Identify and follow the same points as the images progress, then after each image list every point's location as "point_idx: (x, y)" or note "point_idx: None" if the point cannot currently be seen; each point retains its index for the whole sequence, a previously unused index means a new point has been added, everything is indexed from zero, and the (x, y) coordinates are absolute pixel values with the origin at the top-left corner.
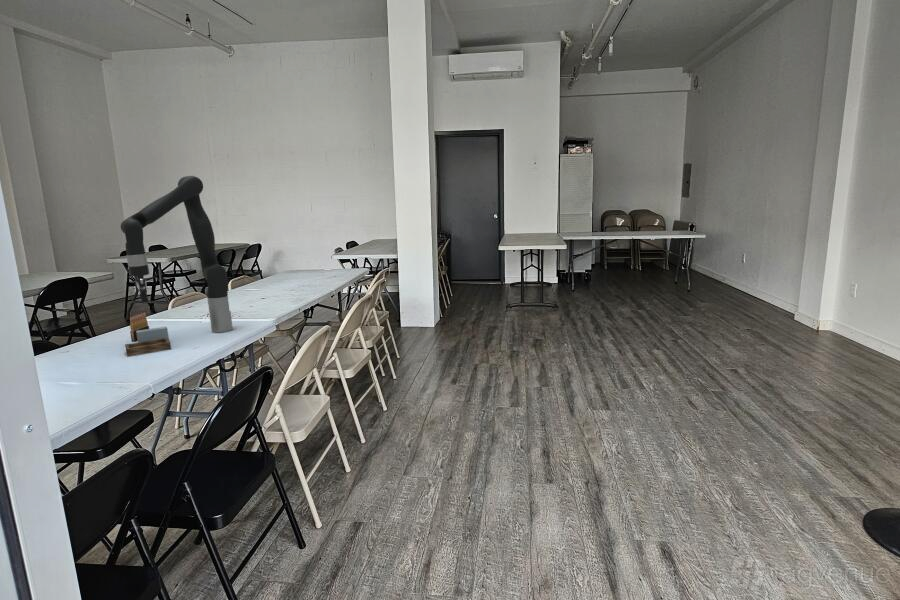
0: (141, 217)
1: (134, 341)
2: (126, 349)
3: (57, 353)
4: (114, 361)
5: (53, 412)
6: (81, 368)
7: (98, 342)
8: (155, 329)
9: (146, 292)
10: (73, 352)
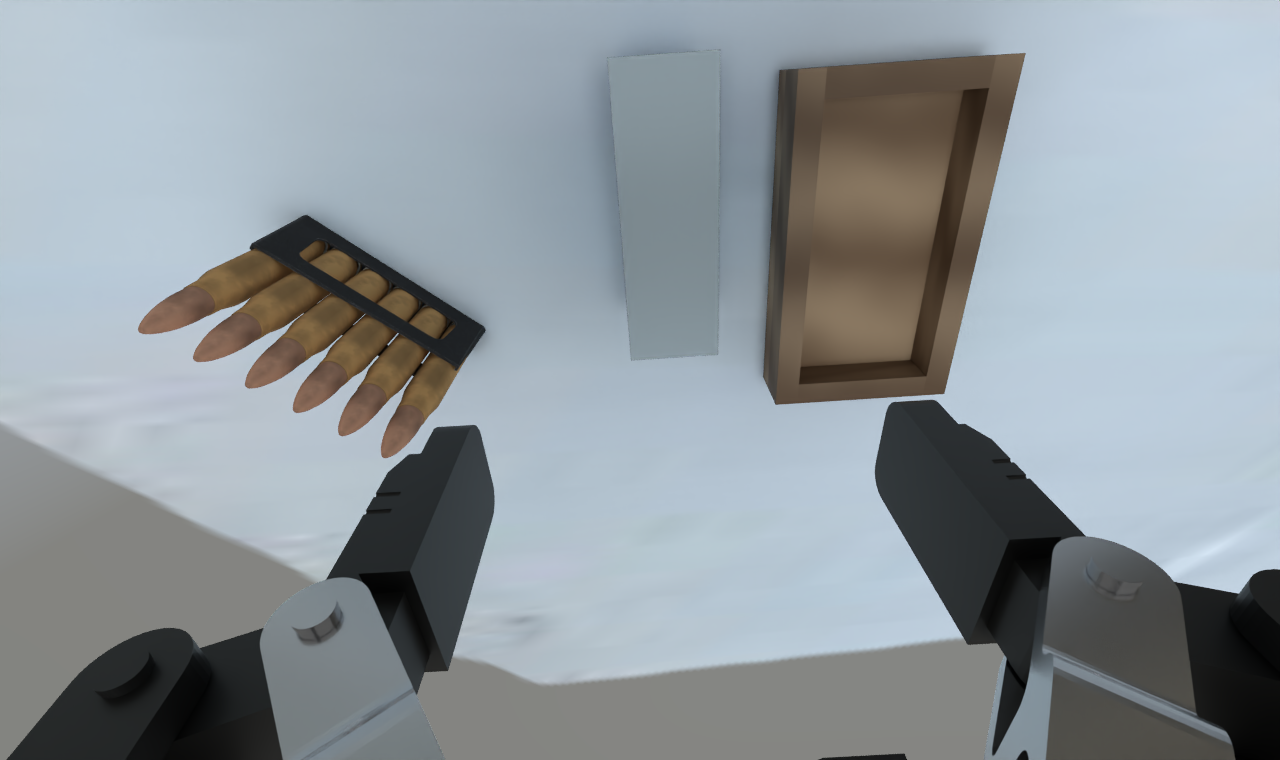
0: None
1: (483, 333)
2: (943, 391)
3: (539, 649)
4: None
5: None
6: None
7: None
8: (700, 189)
9: (1144, 560)
10: (566, 600)
